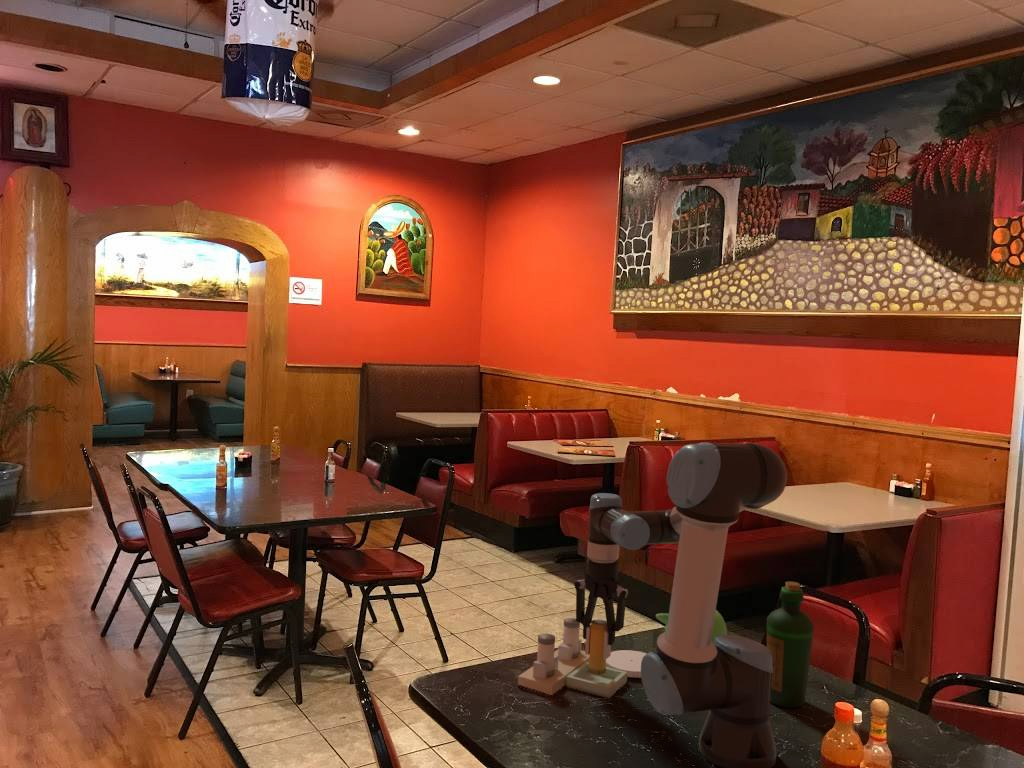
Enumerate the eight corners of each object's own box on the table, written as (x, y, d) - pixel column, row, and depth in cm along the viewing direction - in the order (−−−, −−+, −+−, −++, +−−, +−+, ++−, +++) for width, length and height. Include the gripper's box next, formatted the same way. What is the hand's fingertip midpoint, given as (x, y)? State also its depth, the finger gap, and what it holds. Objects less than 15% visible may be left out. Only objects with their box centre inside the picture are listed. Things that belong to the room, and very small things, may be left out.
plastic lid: (593, 663, 216) (593, 653, 216) (640, 657, 222) (640, 647, 222) (621, 684, 203) (621, 674, 203) (670, 677, 209) (670, 667, 209)
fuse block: (551, 695, 195) (554, 647, 194) (517, 686, 199) (519, 638, 198) (594, 663, 215) (596, 618, 215) (562, 655, 220) (564, 611, 219)
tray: (608, 698, 195) (609, 687, 194) (566, 686, 200) (566, 676, 200) (626, 682, 204) (627, 672, 204) (585, 671, 210) (585, 661, 209)
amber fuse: (601, 676, 199) (604, 626, 199) (586, 672, 201) (588, 623, 201) (608, 670, 203) (610, 621, 202) (592, 666, 205) (595, 618, 204)
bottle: (767, 688, 204) (774, 574, 203) (813, 699, 199) (821, 582, 197) (756, 703, 195) (763, 584, 194) (803, 715, 190) (811, 593, 188)
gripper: (642, 561, 199) (636, 658, 201) (577, 549, 208) (572, 642, 209) (630, 568, 193) (625, 668, 194) (563, 556, 201) (559, 651, 203)
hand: (597, 654), depth 202 cm, fingers closed on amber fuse, 4 cm apart
